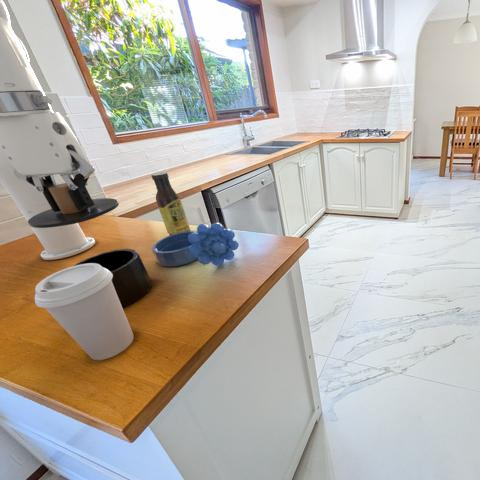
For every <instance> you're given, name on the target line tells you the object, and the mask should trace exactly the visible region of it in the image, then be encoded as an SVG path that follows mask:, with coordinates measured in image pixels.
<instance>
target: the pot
mask: <svg viewBox="0 0 480 480" xmlns="http://www.w3.org/2000/svg"><path fill="white" fill-rule="evenodd" d="M87 263H96V264H99V265H101V266H102V267H103V268H106V269H107V270H109V271H110V272H111V273H112V274H113V278H112V280H111V281H112V283H113V286H114V288H115V291H116V293H117V296H118V298H119V301H120V303H121V306H122V308H123V309H125V308H127V307H130V306H131V305H134V304H135V303H138V302H139V301H140V300H142V299H143V298H144V297H146V295H148V294H149V292H150V291H151V290H152V288H153V282H152V279H151V277H150V275H149V273H148V271H147V269H146V267H145V264H144V262H143V260H142V258H141V255H140V254H139V252H138V251H137V250H136V249H131V248H119V249H114V250H109V251H105V252H101V253H98V254H96V255H95V254H94V255H92V256H89V257H88V258H85V259H84V260H81V261H79V262H77V263H75V264H74V265H73V266H76V265H80V264H87Z"/></svg>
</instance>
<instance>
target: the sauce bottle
mask: <svg viewBox="0 0 480 480" xmlns="http://www.w3.org/2000/svg"><path fill="white" fill-rule="evenodd" d="M150 176H151V178H152V180H153V181H154V185H155V188H156V194H155V201H156V204H157V207H158V210H159V213H160V216H161V218H162V221H163V224H164V227H165V229H166V232H167V234H168V236H170V235H173V234H176V233H180V232H185V231H191V228H190V224H189V222H188V218H187V214H186V212H185V210H184V206H183V204H182V200H181V198H180V196H179V195H178V194H177V192H176V191H175V190H174V188H173V187H172V185H171V182H170V178H169V176H170V175H168V172H166V171H164V172H163V171H161V172H156V173H153V174H151V175H150Z"/></svg>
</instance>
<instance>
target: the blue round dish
mask: <svg viewBox="0 0 480 480" xmlns="http://www.w3.org/2000/svg"><path fill="white" fill-rule="evenodd" d="M191 233H198V232H197V230H190V231H185V232H180V233H176V234H173V235H170V236H169V235H167V236H165V237H163V238H161V239H159V240H157V241H156V242H155V243H154V244H152V247H151V251H152V254H153V255H154V258H155V260H156V262H157V263H158V264H159V265H160V266H164V267H174V268H175V267H181V266H185V265H189V264H191V263H193V262H195V261H198V256H193V255H191V254H190V253H189V247H190V246H191V245H194V244H191V243H190V242H189V241H188V236H189V234H191ZM198 234H199V233H198Z"/></svg>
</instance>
